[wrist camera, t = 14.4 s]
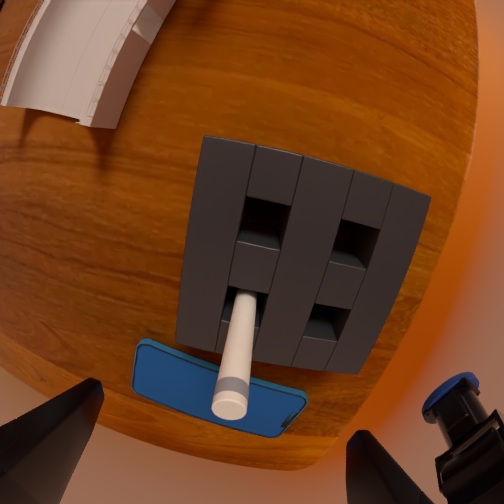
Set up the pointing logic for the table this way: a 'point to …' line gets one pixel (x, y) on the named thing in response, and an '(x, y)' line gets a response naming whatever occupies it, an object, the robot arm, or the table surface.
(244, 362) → the stylus
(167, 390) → the smartphone
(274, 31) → the table surface
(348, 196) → the pen stand
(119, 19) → the skate ramp
